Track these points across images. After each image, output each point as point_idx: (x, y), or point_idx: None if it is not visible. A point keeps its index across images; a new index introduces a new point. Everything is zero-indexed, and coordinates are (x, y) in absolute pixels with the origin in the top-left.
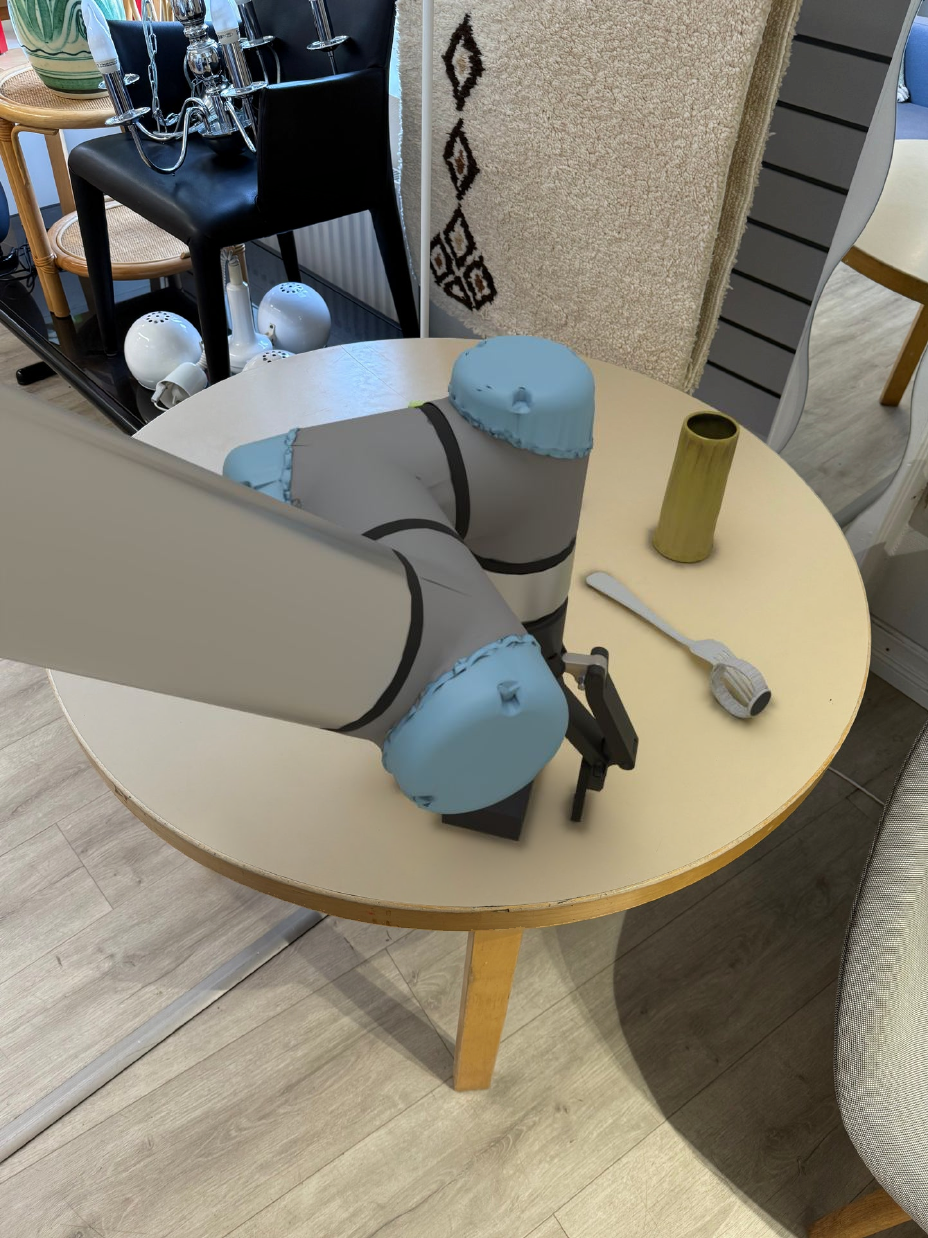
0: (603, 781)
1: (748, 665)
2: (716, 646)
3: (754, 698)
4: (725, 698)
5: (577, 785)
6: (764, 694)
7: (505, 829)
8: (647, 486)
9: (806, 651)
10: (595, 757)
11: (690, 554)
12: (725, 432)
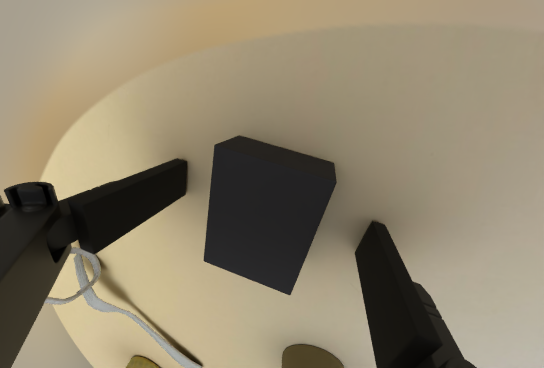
0: (93, 188)
1: None
2: (96, 307)
3: None
4: (94, 264)
5: (126, 185)
6: None
7: (248, 143)
8: None
9: (66, 285)
10: (14, 221)
11: (137, 365)
12: None
